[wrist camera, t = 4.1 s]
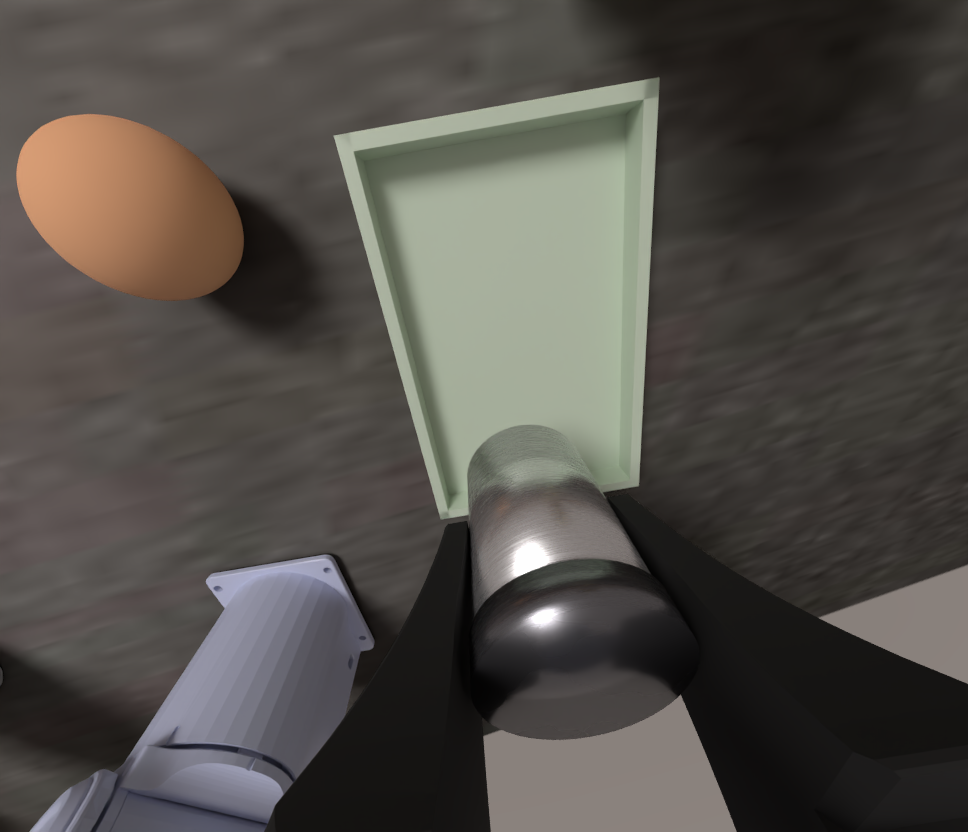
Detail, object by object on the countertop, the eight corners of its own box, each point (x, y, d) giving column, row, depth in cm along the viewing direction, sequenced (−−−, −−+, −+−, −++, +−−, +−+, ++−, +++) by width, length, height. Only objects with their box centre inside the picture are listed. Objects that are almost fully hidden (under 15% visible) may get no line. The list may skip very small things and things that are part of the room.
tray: (625, 468, 20) (638, 486, 19) (442, 499, 20) (440, 519, 19) (635, 97, 13) (659, 77, 11) (348, 149, 13) (333, 135, 12)
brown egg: (291, 281, 15) (214, 295, 10) (173, 301, 15) (42, 325, 10) (234, 131, 13) (101, 60, 8) (95, 156, 13) (-118, 100, 8)
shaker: (587, 509, 14) (692, 717, 8) (478, 531, 14) (494, 754, 8) (579, 409, 12) (709, 583, 6) (451, 436, 12) (444, 635, 6)
